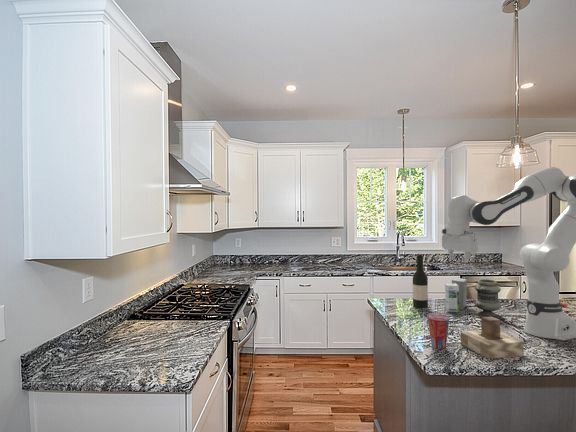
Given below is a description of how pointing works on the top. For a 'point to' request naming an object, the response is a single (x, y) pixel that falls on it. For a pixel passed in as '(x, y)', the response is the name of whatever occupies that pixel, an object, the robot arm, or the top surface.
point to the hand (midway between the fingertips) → (459, 260)
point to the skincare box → (461, 291)
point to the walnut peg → (490, 328)
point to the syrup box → (452, 297)
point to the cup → (438, 330)
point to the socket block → (492, 345)
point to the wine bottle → (420, 285)
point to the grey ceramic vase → (487, 297)
